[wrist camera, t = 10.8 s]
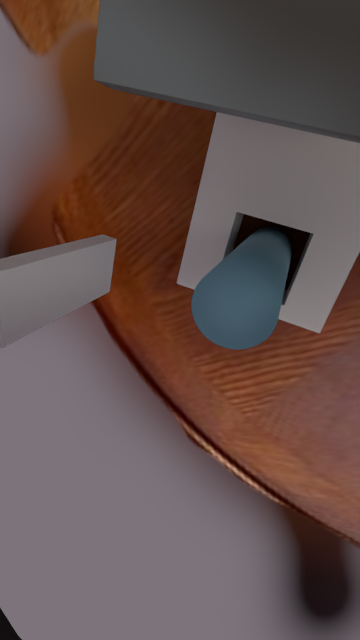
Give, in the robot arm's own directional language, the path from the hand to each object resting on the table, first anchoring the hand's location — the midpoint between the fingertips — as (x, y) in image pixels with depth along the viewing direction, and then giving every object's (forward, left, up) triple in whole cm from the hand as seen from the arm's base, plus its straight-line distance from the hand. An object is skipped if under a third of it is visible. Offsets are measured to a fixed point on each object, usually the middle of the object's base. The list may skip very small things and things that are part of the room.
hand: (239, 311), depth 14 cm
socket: (-3, 0, -15) cm, 16 cm away
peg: (0, 0, -15) cm, 15 cm away
